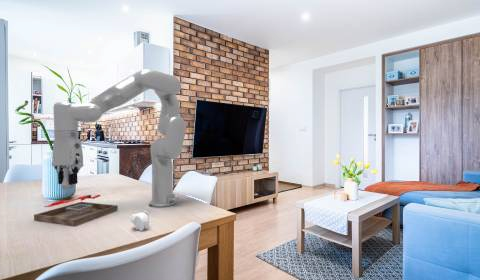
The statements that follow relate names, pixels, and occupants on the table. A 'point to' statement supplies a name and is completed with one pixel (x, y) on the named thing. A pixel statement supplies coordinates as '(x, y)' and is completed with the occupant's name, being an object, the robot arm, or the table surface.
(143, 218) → the elephant figurine
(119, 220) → the table surface
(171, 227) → the table surface
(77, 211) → the metal socket
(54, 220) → the walnut box
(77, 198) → the cloth
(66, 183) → the rook chess piece
